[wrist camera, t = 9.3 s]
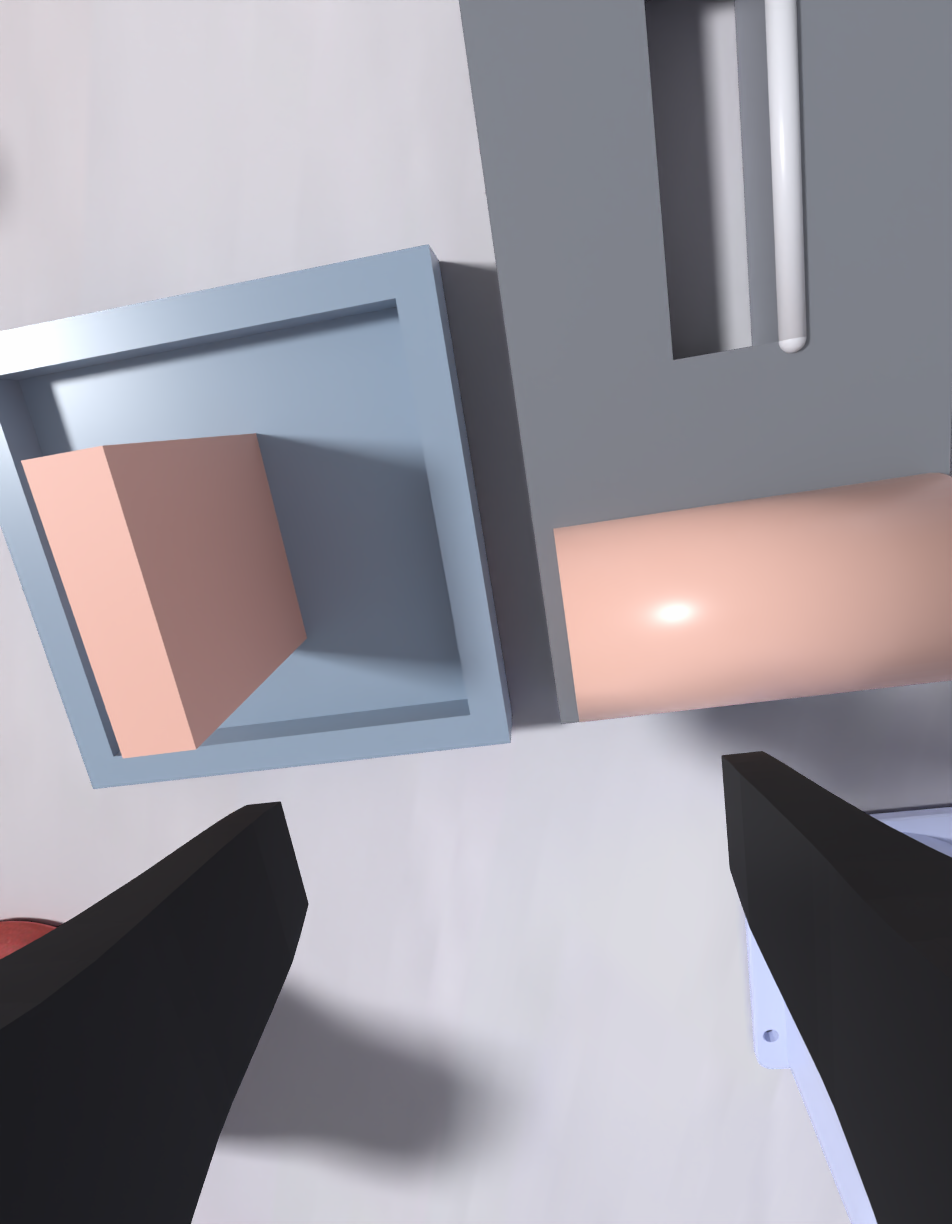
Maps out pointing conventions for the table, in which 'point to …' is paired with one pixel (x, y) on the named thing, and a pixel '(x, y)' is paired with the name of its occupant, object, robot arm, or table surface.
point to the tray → (287, 503)
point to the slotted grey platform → (730, 355)
